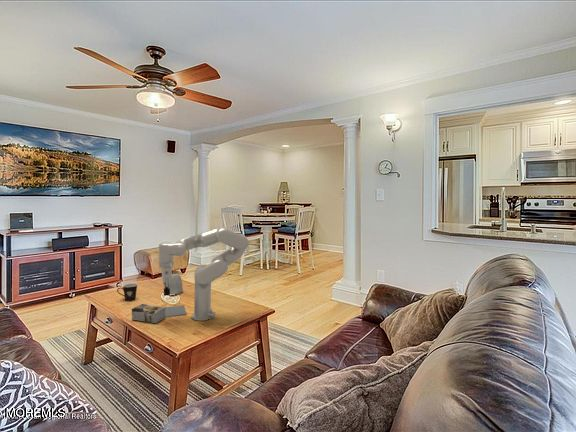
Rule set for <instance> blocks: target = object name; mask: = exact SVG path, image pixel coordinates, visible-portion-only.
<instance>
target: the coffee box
mask: <svg viewBox="0 0 576 432" xmlns="http://www.w3.org/2000/svg"><path fill="white" fill-rule="evenodd" d="M165 307H166V306H161V305H160V306H159V305H151V304H145V303H142V304H140V305H138V306H135V307H134V308H131V320H135V321H140V322H146V323H152V324H153V323H154V324H157V323H159V322H160V321H161V320H163V319H165V318H166V317H165Z"/></svg>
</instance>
